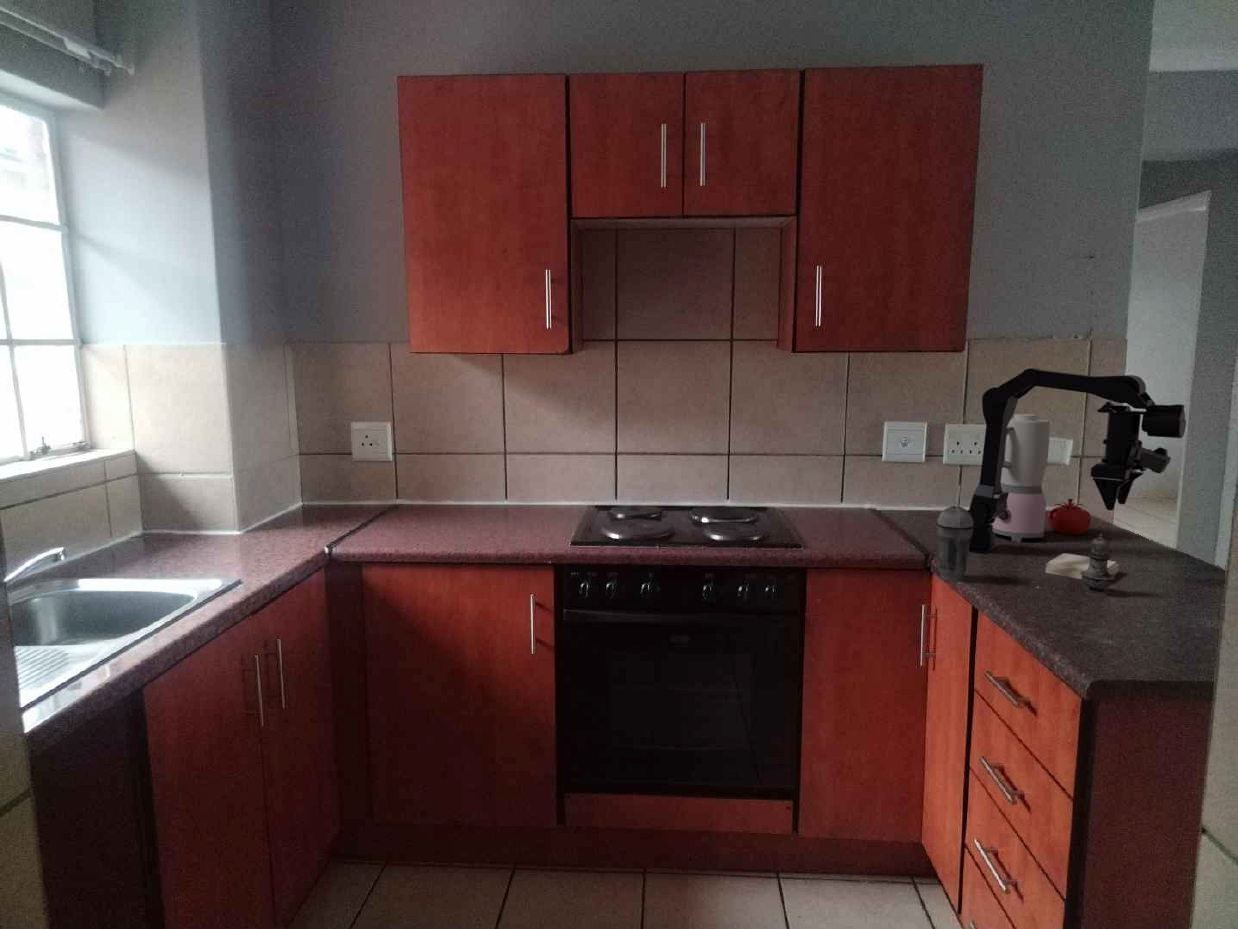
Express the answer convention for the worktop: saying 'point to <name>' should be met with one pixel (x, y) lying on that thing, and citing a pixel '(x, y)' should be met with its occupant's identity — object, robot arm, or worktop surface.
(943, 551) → the beverage cup
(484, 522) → the worktop surface
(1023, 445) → the blender
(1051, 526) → the red tomato
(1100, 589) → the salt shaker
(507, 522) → the worktop surface
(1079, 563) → the wooden tray
